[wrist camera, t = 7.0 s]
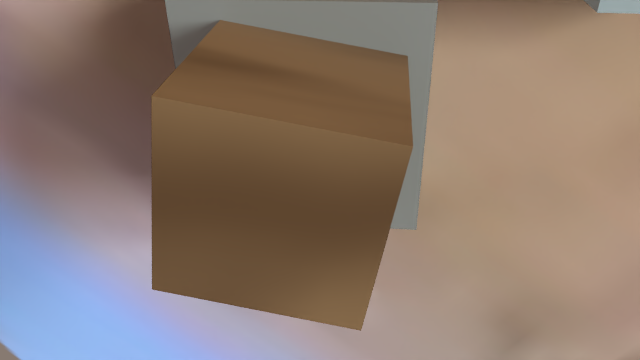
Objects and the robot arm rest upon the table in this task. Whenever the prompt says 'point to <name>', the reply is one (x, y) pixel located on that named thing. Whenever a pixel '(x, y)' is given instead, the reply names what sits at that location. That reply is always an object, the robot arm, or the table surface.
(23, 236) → the table surface
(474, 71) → the table surface
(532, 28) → the table surface
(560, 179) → the table surface
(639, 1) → the dusty-blue cube
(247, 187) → the walnut cube
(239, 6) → the slate slab
